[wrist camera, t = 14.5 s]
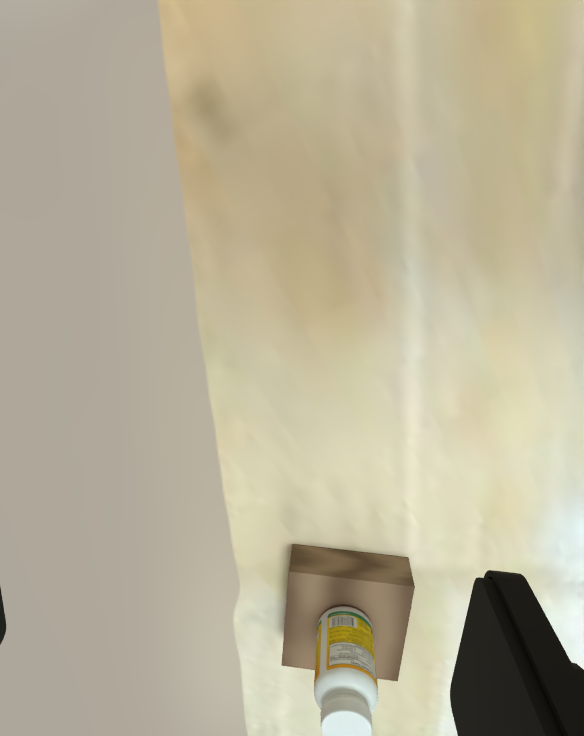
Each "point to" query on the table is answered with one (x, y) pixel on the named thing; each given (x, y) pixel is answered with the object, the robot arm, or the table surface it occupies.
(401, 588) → the walnut stand
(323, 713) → the supplement bottle
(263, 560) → the table surface
